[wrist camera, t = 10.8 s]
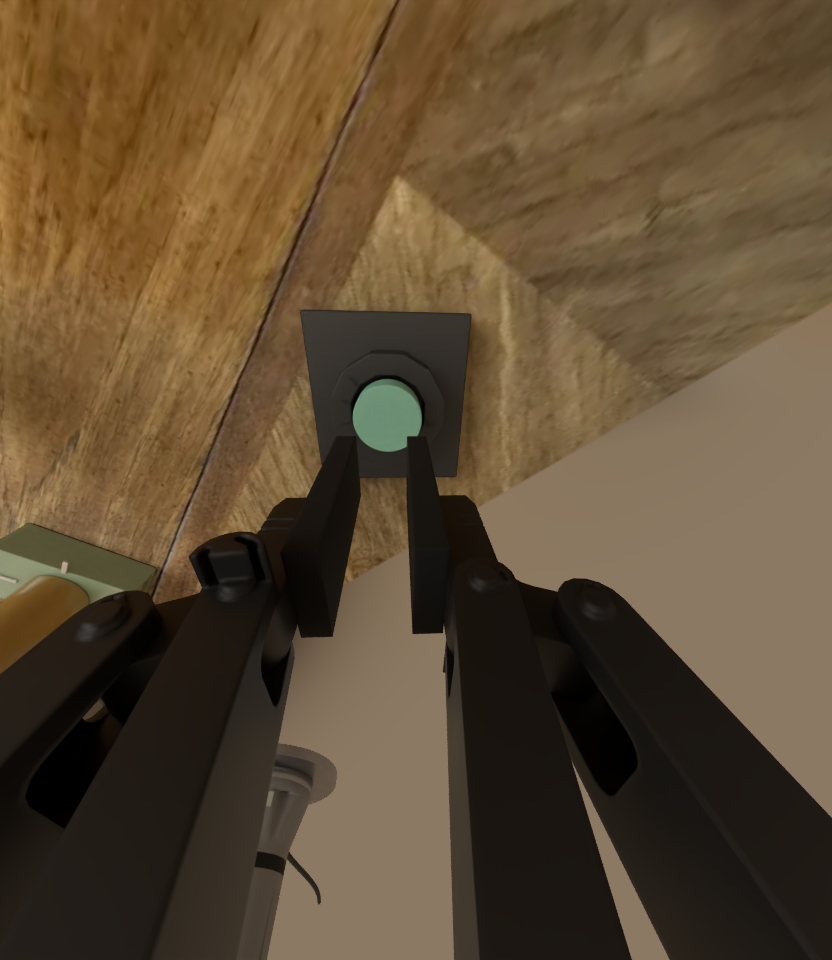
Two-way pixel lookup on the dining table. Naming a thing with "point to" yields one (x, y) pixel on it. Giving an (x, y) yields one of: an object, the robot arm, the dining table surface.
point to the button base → (388, 355)
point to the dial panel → (67, 564)
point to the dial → (36, 614)
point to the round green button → (387, 415)
